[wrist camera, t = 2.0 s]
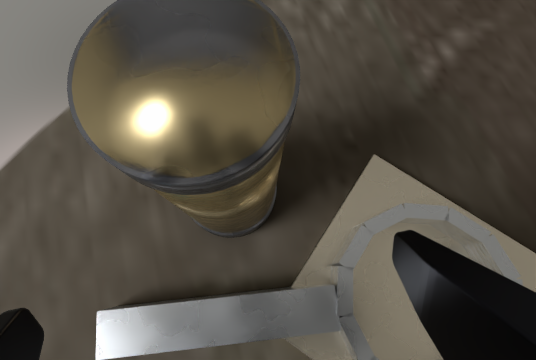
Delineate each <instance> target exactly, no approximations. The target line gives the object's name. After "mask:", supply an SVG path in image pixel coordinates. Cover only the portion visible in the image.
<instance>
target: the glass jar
mask: <svg viewBox="0 0 536 360" xmlns="http://www.w3.org/2000/svg"><path fill="white" fill-rule="evenodd" d="M67 84H68V85H67V92H68V101H69V106H70V109H71V113H72V116H73V119H74V121H75V123H76V125H77V127H78V130H79V131H80V133H81V134H82V136H83V137H84V139H85V140H86V142H87V143H88V144H89V145H90V146H91V147H92V148H93V149H94V150H95V151H96V152H97V153H98V154H99V155H100V156H101V157H103V158H104V159H105V160H106V161H108V162H109V163H110V164H112V165H113V166H115V167H116V168H118V169H119V170H120V171H122V172H123V173H125V174H126V175H128V176H129V177H131V178H132V179H134V180H136V181H137V182H139V183H141V184H143V185H145V186H147V187H150V188H152V189H154V190H155V191H156V192H158V193H159V194H160V195H162V196H163V197H165V198H166V199H167V200H169V201H170V202H171V203H173V204H174V205H175V206H177V207H178V208H179V209H181V210H182V211H184V212H185V213H186V214H188V215H189V216H190V217H191V218H192V219H193V220H194V221H195V222H196V223H197V224H198V225H200V226H201V227H202V228H204V229H205V230H207V231H208V232H210V233H212V234H214V235H217V236H221V237H227V238H234V237H241V236H244V235H247V234H249V233H251V232H253V231H255V230H256V229H258V228H259V227H260V226H261V225H262V224H263V223H264V222H265V221H266V220H267V219H268V217H269V215H270V214H271V212H272V209H273V206H274V203H275V198H276V191H277V185H276V184H277V179H278V173H279V168H280V163H281V158H282V153H283V148H284V142H285V139H286V137H287V134H288V132H289V130H290V127H291V123H292V120H293V116H294V111H295V107H296V102H297V98H298V93H299V85H300V66H299V60H298V54H297V51H296V48H295V45H294V42H293V40H292V38H291V36H290V34H289V32H288V30H287V29H286V27H285V26H284V24H283V23H282V21H281V20H280V19H279V18H278V17H277V16H276V14H275V13H274V12H273V11H272V10H271V9H270V8H268V7H267V6H266V5H265V4H264V3H263V2H261V1H260V0H117V1H116V2H114V3H113V4H111V5H110V6H109V7H107V8H106V9H105V10H104V11H103V12H102V13H101V14H99V15H98V16H97V17H96V19H95V20H94V21H93V22H92V23H91V24H90V25H89V26H88V28H87V29H86V31H85V32H84V34H83V35H82V37H81V38H80V40H79V42H78V44H77V46H76V48H75V51H74V53H73V57H72V59H71V62H70V67H69V72H68V82H67Z"/></svg>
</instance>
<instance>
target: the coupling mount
mask: <svg viewBox="0 0 536 360" xmlns="http://www.w3.org/2000/svg"><path fill="white" fill-rule="evenodd" d="M405 230H413V231H416V232H418V233H420V234H422V235H424V236H426V237H427V238H429V239H431V240H433V241H435V242H437V243H439V244H441V245H443V246H445V247H447V248H449V249H451V250H453V251H455V252H457V253H459V254H461V255H463V256H465V257H467V258H469V259H471V260H473V261H475V262H477V263H479V264H481V265H483V266H485V267H487V268H489V269H491V270H493V271H495V272H497V273H499V274H501V275H503V276H505V277H507V278H509V279H511V280H513V281H515V282H517V283H519V284H520V285H522V286H524V287H526V288H528V289H530V290H532V291H534V292H536V253H534V252H532V251H531V250H529V249H528V248H526V247H524V246H523V245H521V244H519V243H518V242H516V241H514V240H513V239H511V238H510V237H508V236H506V235H505V234H503V233H501V232H500V231H498V230H497V229H495V228H493V227H492V226H490V225H488V224H487V223H485V222H484V221H482V220H480V219H479V218H477V217H475V216H474V215H472V214H471V213H469V212H467V211H466V210H464V209H462V208H461V207H459V206H458V205H456V204H454V203H453V202H451V201H449V200H448V199H446V198H445V197H443V196H441V195H440V194H438V193H436V192H435V191H433V190H432V189H430V188H428V187H427V186H425V185H423V184H422V183H420V182H419V181H417V180H415V179H414V178H412V177H410V176H409V175H407V174H406V173H404V172H402V171H401V170H399V169H397V168H396V167H394V166H393V165H391V164H389V163H388V162H386V161H384V160H383V159H381V158H380V157H378V156H376V155H375V154H374V155H373V156H372V157H371V158H370V160H369V161H368V163H367V165H366V166H365V168H364V169H363V171H362V173H361V174H360V176H359V177H358V179H357V181H356V182H355V184H354V185H353V187H352V189H351V190H350V192H349V193H348V195H347V197H346V198H345V200H344V201H343V203H342V205H341V206H340V208H339V209H338V211H337V213H336V214H335V216H334V217H333V219H332V221H331V222H330V224H329V225H328V227H327V229H326V230H325V232H324V233H323V235H322V237H321V238H320V240H319V241H318V243H317V245H316V246H315V248H314V249H313V251H312V253H311V254H310V256H309V257H308V259H307V261H306V262H305V264H304V265H303V267H302V269H301V270H300V272H299V274H298V275H297V277H296V278H295V280H294V282H293V283H292V285H291V286H290V287H285V288H276V289H268V290H259V291H250V292H241V293H232V294H223V295H214V296H205V297H196V298H187V299H178V300H169V301H160V302H151V303H142V304H133V305H124V306H116V307H112V308H108V309H105V310H101V311H97V332H96V360H102V359H110V358H119V357H127V356H136V355H144V354H152V353H161V352H169V351H177V350H186V349H194V348H203V347H211V346H219V345H228V344H236V343H244V342H253V341H261V340H270V339H278V338H284V339H285V340H287V341H288V342H290V343H291V344H292V345H294V346H295V347H296V348H298V349H299V350H301V351H302V352H303V353H305V354H306V355H307V356H309V357H310V358H312V359H313V360H443V358H442V356H441V355H440V353H439V351H438V350H437V348H436V346H435V345H434V343H433V341H432V340H431V338H430V337H429V335H428V333H427V332H426V330H425V328H424V326H423V325H422V323H421V321H420V319H419V317H418V315H417V313H416V311H415V309H414V307H413V305H412V303H411V301H410V299H409V296H408V294H407V292H406V290H405V288H404V286H403V284H402V282H401V279H400V277H399V275H398V273H397V271H396V269H395V267H394V264H393V261H392V250H393V241H394V235H395V234H396V233H397V232H400V231H405Z"/></svg>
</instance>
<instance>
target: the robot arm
mask: <svg viewBox="0 0 536 360" xmlns="http://www.w3.org/2000/svg"><path fill="white" fill-rule="evenodd" d="M392 261H393V264H394V267H395V269H396V271H397V273H398V275H399V277H400V279H401V282H402V284H403V286H404V288H405V290H406V292H407V294H408V296H409V299H410V301H411V303H412V305H413V307H414V309H415V311H416V313H417V315H418V317H419V319H420V321H421V323H422V325H423V326H424V328H425V330H426V332H427V333H428V335H429V337H430V338H431V340H432V341H433V343H434V345H435V346H436V348H437V350H438V351H439V353H440V355H441V356H442V358H443V360H536V292H534V291H532V290H530V289H528V288H526V287H524V286H522V285H520V284H519V283H517V282H515V281H513V280H511V279H509V278H507V277H505V276H503V275H501V274H499V273H497V272H495V271H493V270H491V269H489V268H487V267H485V266H483V265H481V264H479V263H477V262H475V261H473V260H471V259H469V258H467V257H465V256H463V255H461V254H459V253H457V252H455V251H453V250H451V249H449V248H447V247H445V246H443V245H441V244H439V243H437V242H435V241H433V240H431V239H429V238H427V237H426V236H424V235H422V234H420V233H418V232H416V231H413V230H405V231H400V232H397V233H396V234H395V235H394V241H393V250H392ZM43 341H44V331H43V328H42V327H41V325H40V324H39V323H38V321H37V320H36V319H35V317H34V316H33V315H32V314H31V312H30V311H29V310H28V309H26V308H19V309H14V310H9V311H6V312H4V313H2V314H1V315H0V360H39V358H40V353H41V349H42V345H43Z"/></svg>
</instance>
